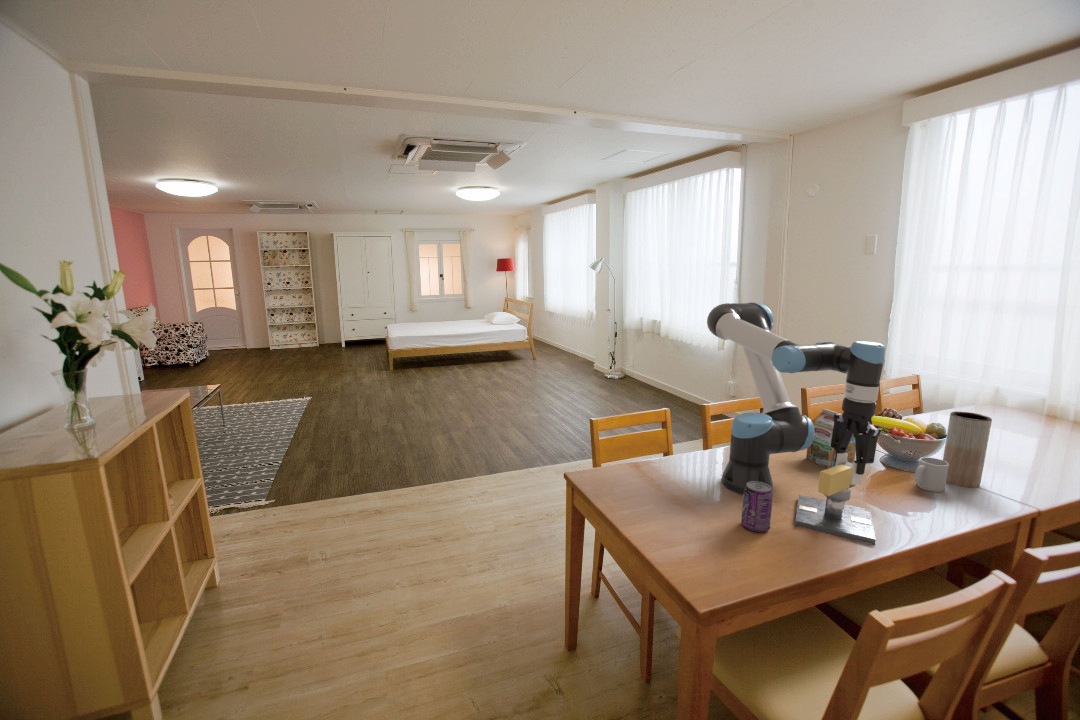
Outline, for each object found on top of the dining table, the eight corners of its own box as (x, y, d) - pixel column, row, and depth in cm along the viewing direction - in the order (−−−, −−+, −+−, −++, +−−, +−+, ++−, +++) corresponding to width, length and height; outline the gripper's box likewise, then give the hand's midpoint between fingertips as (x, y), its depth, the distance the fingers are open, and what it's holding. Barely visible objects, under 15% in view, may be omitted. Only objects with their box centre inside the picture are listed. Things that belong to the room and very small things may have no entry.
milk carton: (806, 458, 176) (811, 409, 172) (827, 455, 179) (833, 407, 175) (830, 469, 166) (837, 417, 162) (853, 466, 169) (860, 415, 165)
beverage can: (745, 517, 133) (748, 478, 131) (772, 526, 129) (776, 485, 127) (737, 528, 128) (741, 486, 126) (765, 537, 123) (769, 494, 121)
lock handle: (810, 496, 130) (813, 468, 129) (837, 485, 136) (840, 459, 135) (834, 505, 125) (837, 477, 123) (861, 494, 131) (864, 467, 129)
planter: (950, 486, 153) (962, 419, 149) (933, 473, 162) (943, 410, 158) (987, 489, 150) (1000, 421, 146) (967, 476, 160) (979, 412, 156)
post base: (795, 525, 129) (797, 501, 128) (798, 499, 144) (800, 477, 143) (874, 544, 120) (878, 519, 118) (869, 514, 135) (872, 491, 134)
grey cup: (950, 491, 149) (955, 464, 148) (925, 494, 147) (929, 467, 145) (927, 481, 156) (931, 456, 154) (903, 484, 154) (906, 458, 152)
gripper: (823, 390, 135) (812, 466, 139) (875, 409, 117) (861, 495, 122) (846, 390, 136) (834, 465, 141) (901, 408, 119) (886, 493, 123)
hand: (846, 479), depth 131 cm, fingers open, 5 cm apart
